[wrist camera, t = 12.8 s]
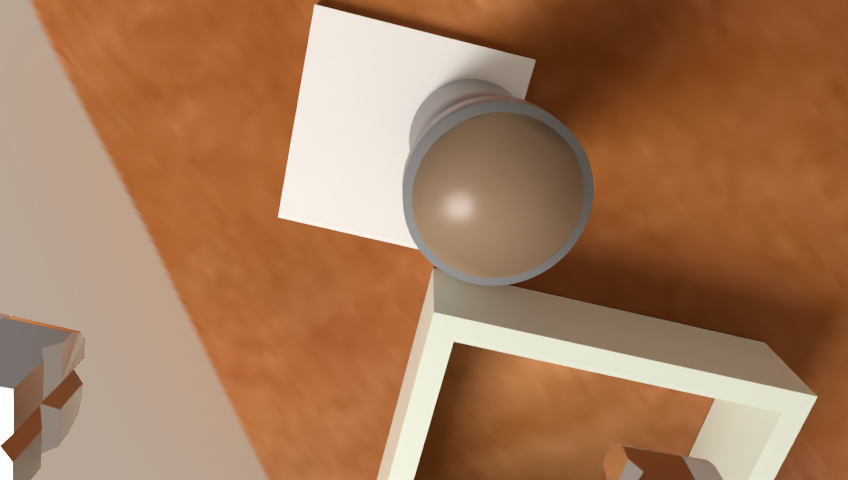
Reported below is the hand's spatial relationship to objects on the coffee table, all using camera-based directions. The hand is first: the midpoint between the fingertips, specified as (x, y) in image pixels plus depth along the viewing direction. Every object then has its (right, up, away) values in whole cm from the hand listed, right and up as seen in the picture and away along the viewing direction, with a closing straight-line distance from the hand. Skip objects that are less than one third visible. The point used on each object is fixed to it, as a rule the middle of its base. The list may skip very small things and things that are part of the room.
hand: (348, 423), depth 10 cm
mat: (0, +8, +21) cm, 22 cm away
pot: (+3, +7, +20) cm, 22 cm away
